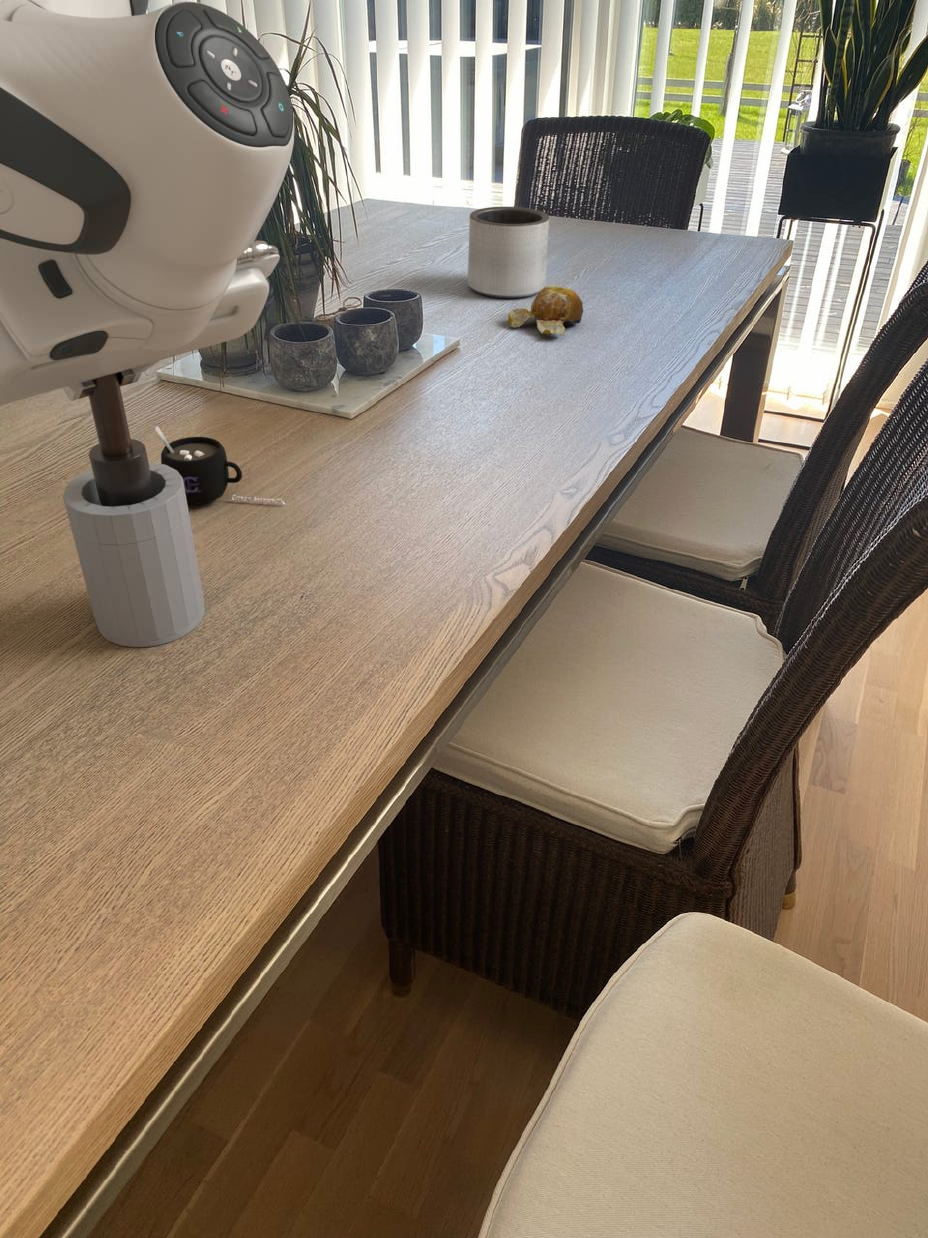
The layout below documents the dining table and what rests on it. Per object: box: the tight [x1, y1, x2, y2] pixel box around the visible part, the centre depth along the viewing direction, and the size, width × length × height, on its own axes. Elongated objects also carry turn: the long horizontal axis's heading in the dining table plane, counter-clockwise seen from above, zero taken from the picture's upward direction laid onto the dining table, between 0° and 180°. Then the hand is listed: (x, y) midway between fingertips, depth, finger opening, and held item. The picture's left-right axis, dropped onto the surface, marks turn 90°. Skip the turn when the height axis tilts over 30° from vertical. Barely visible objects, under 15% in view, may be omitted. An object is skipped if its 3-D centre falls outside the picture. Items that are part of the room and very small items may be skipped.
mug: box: [154, 425, 285, 505], centre depth 92 cm, size 12×6×8 cm, turn 83°
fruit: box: [507, 286, 584, 336], centre depth 137 cm, size 11×11×5 cm
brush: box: [88, 373, 155, 507], centre depth 67 cm, size 4×4×16 cm
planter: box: [467, 206, 550, 299], centre depth 150 cm, size 12×12×11 cm
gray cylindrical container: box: [62, 461, 206, 648], centre depth 75 cm, size 9×9×12 cm
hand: (97, 382), depth 67 cm, fingers closed on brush, 2 cm apart
